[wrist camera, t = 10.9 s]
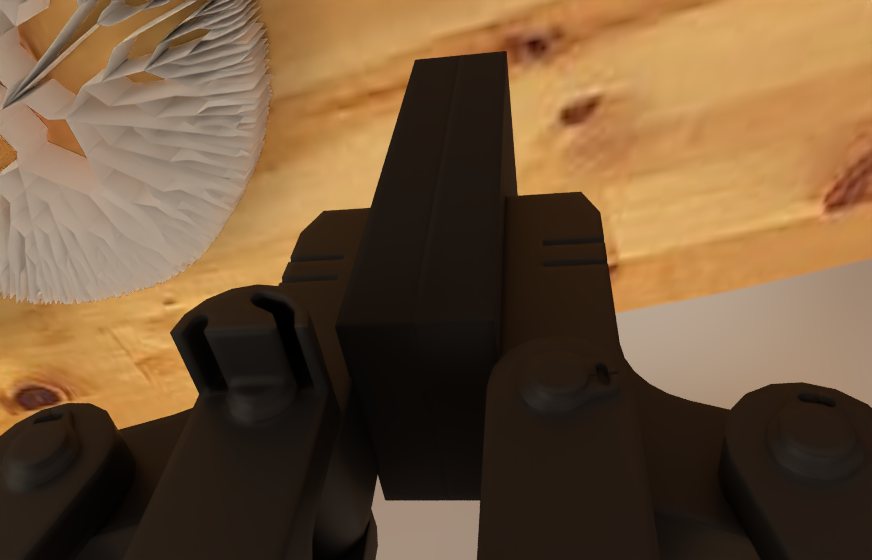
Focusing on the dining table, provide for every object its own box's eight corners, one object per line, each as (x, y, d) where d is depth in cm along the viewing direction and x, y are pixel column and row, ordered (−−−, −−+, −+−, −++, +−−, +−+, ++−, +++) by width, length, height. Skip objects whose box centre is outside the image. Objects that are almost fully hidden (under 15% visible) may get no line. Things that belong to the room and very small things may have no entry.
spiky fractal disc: (-297, 75, 38) (-349, 97, 36) (-31, -393, 25) (-85, -405, 23) (68, 345, 47) (45, 375, 45) (392, 97, 35) (383, 123, 33)
